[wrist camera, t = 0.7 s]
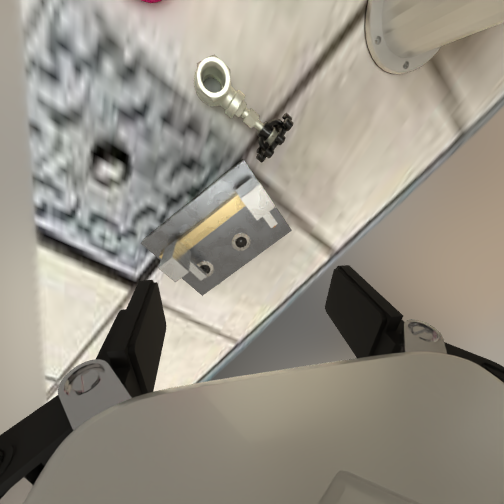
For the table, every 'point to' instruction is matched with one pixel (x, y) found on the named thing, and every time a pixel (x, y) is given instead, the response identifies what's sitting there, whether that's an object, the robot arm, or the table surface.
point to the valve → (239, 105)
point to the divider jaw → (257, 201)
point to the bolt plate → (213, 234)
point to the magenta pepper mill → (151, 1)
